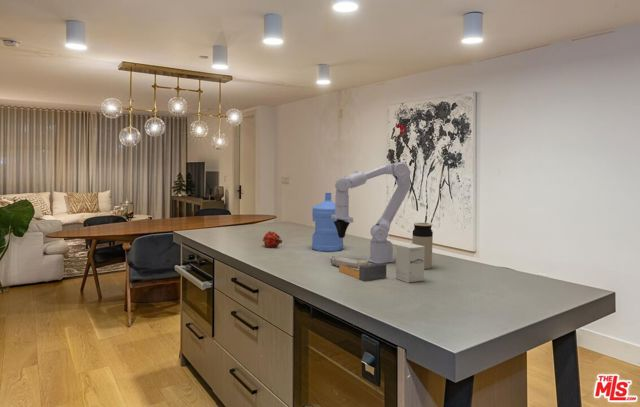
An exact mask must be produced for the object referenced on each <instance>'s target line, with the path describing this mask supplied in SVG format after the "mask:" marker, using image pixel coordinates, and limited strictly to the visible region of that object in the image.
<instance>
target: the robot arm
mask: <svg viewBox="0 0 640 407" xmlns="http://www.w3.org/2000/svg"><path fill="white" fill-rule="evenodd" d="M382 175H392V176H393V178H394V179H395V181H396V184H397V187H396V189H395V190H394V192H393V194H392V196H391V197H390V200H389V201H388V204H387V206H386V207H385V209H384V211H383V213H382V215H381V217H380V218H379V219H378V220H377V221H376V223H375V224H374V225H373V226H371V228H370V235H371V239H370V242H369V243H370V244H369V245H370V249H369V251H370V252H369V258H366V259H365V261H368V263H369V262H370V263H371V264H377V263H383V264H388V263H394V262H395V260H394V246H393V243H392V242H391V240H388V237H389V236H388V235H389V231H390V228H391V224H392V221H394V218H395V216H396V214H397V213H398V212H399V209H400V208H401V205H402V203H403V202H404V199H405V198H406V196H407V194H408V192H409V191H410V189H411V169H410V168H409V165H408V164H407V163H406V162H404V161H397V162H394V163H388V164H384V165H381V166H378V167H376V168H373V169H371V170H369V171H366V172H363V171H362V170H359V171H358V170H356V171H354V173H351V174H349V175H346V174H345V175H344V176H343V177H340V178H337V180H336V181H335V184H334V187H335V197H334V199H335V200H334V203H335V215H331V219H335V220H337V221H334V224H335V226H336V228H337V232H338V236H339V238H343V239H344V238H345V237H346V232H347V230H348V227H349V225H350V224H351V223H354V217H351V216H349V208H350V207H349V203H350V201H349V198H350V196H349V189H354V188H357V187H361V186H363V185H364V184H366V182H367V181H368V180H370V179H373V178H376V177H379V176H382ZM342 219H343V220H342Z"/></svg>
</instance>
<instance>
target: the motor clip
mask: <svg viewBox="0 0 640 407" xmlns="http://www.w3.org/2000/svg"><path fill="white" fill-rule="evenodd" d="M356 269H357V268H350V267H347V266H344V265H339V267H338V271H339V272H340V273H343V274H346V275H348V276H350V277H353V278H356V279H358V280H360V281H363V282H369V281H374V280H382V279H386V278H387V263H377V264H376V263H371V264H369V263H368V265H361V266H359V271H358V270H356Z"/></svg>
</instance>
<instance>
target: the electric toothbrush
mask: <svg viewBox="0 0 640 407" xmlns="http://www.w3.org/2000/svg"><path fill="white" fill-rule="evenodd" d="M330 264H331V265H332V266H334V267H338V268H339V265H344V266H347V267H350V268H353V269H355V270H358V271H359V266H361V265H369V261H366V259H365V260H364V259H363V260H358V259H353V258H349V257H343V256H341V255H336V256H332V257H331V258H330ZM356 268H357V269H356Z"/></svg>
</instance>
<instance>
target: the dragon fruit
mask: <svg viewBox="0 0 640 407" xmlns="http://www.w3.org/2000/svg"><path fill="white" fill-rule="evenodd" d="M262 242H264V247H269V248H272V249H273V248H275V247H278V246H279V245H280V244H282V243H283V240H282V238H281V236H279V235H278V233H276V232H275V231H272V230H271V231H268V232H266V233H265V234H264V236H263V239H262Z"/></svg>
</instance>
